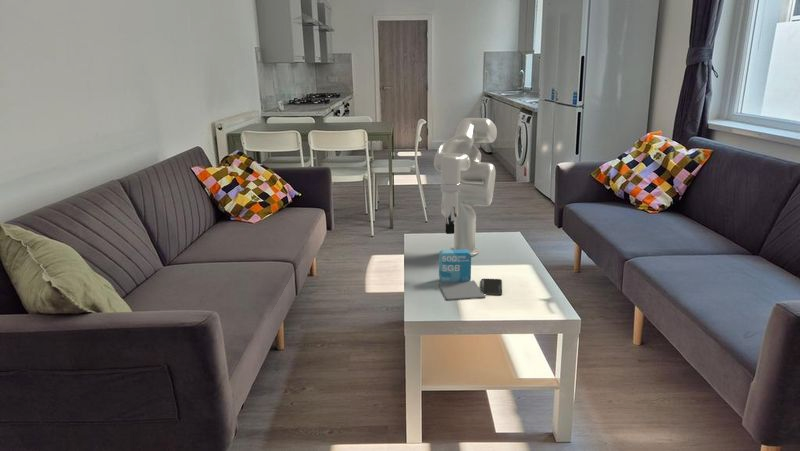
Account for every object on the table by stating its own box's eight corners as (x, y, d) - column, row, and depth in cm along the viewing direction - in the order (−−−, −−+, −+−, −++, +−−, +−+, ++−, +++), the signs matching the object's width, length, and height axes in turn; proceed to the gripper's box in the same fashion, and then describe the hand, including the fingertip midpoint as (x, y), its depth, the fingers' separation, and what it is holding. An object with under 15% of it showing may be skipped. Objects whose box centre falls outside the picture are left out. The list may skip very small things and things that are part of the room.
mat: (438, 284, 208) (438, 282, 208) (474, 282, 210) (474, 280, 210) (446, 300, 193) (446, 298, 193) (485, 298, 195) (485, 296, 195)
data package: (439, 283, 210) (439, 253, 207) (438, 278, 214) (438, 249, 211) (470, 282, 210) (471, 252, 207) (469, 278, 214) (469, 249, 211)
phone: (480, 292, 198) (481, 278, 212) (480, 295, 198) (481, 281, 212) (502, 293, 196) (502, 279, 211) (502, 296, 197) (502, 281, 211)
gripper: (437, 184, 218) (437, 229, 223) (444, 191, 204) (444, 238, 208) (455, 184, 219) (455, 228, 224) (464, 190, 205) (463, 237, 209)
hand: (449, 233), depth 216 cm, fingers closed
